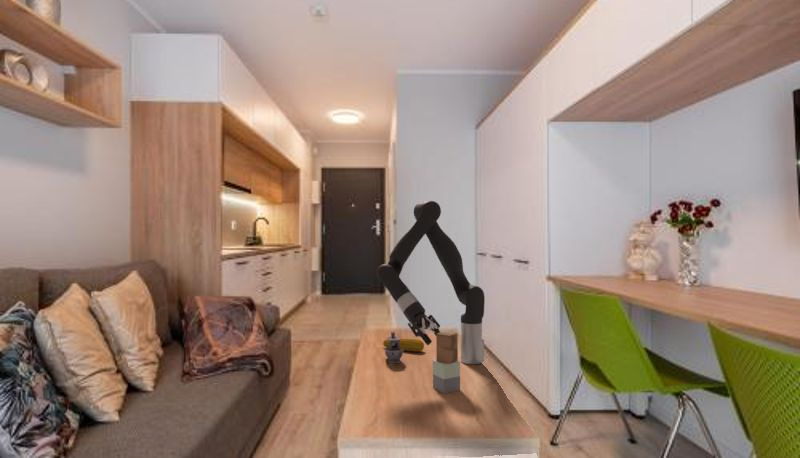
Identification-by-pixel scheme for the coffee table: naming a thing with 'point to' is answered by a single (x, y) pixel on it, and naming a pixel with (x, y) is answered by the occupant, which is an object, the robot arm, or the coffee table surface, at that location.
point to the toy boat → (394, 349)
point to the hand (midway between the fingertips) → (436, 341)
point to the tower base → (446, 384)
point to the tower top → (446, 369)
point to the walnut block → (447, 347)
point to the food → (408, 345)
